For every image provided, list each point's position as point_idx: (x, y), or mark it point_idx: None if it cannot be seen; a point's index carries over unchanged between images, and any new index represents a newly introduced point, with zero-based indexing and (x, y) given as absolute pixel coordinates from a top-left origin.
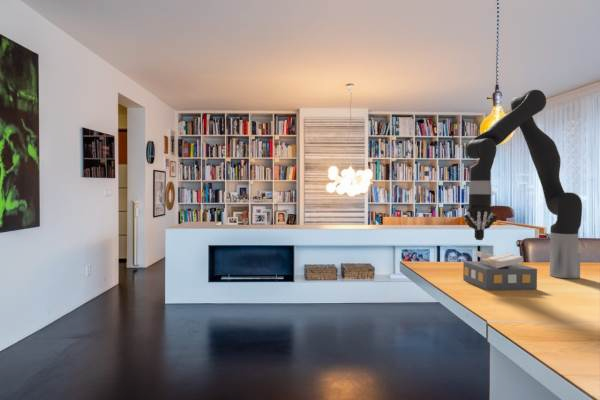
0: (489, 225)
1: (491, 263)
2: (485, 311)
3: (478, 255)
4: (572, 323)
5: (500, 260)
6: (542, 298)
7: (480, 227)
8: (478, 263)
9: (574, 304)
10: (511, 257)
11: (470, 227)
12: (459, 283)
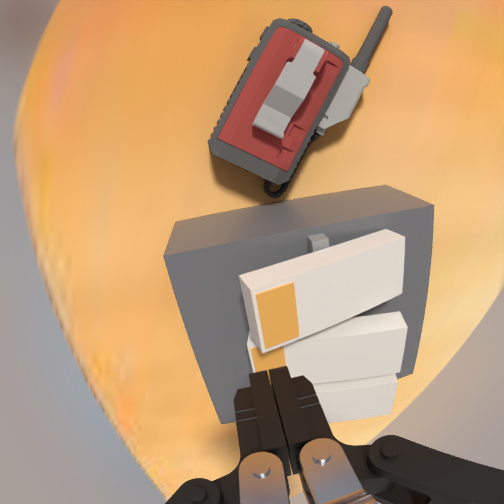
0: (398, 487)
1: None
2: (170, 479)
3: (248, 310)
4: None
5: None
6: None
7: (305, 486)
8: (235, 309)
9: (361, 428)
10: (359, 403)
11: (189, 487)
12: (145, 291)
